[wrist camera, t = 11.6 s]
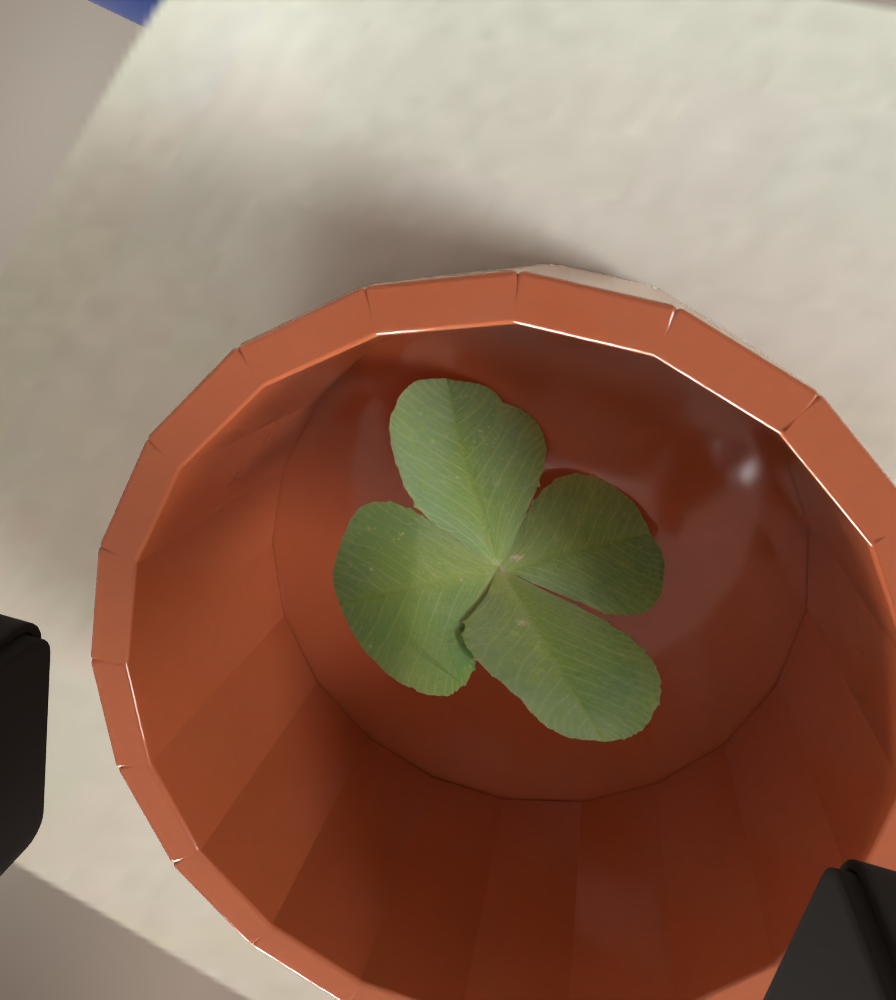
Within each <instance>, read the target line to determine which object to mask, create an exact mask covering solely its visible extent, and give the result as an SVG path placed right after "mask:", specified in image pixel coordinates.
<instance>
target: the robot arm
mask: <svg viewBox="0 0 896 1000" xmlns="http://www.w3.org/2000/svg"><path fill="white" fill-rule="evenodd" d="M49 670H50V646H49V644H48V642H47V641H45V640H44V639H41V632H40V630H39V628H38V627H37V626H36V625H34V624H33V623H29V622H26V621H22V620H19V619H15V618H12V617H8V616H5V615H1V614H0V876H1V875H2V874H3V873H4V871H5V870H6V869H7V868H8V867H9V866H10V865H11V864H12V863H13V862H14V861H15V860H16V859H17V858H18V857H19V855H20V854H21V853H22V852H23V851H24V850H25V849H26V848H27V847H28V846H29V844H30V843H31V842H32V840H33V839H34V837H35V835H36V834H37V832H38V829H39V827H40V825H41V822H42V818H43V811H44V787H45V764H46V740H47V717H48V693H49ZM763 1000H896V871H893V870H890V869H887V868H883V867H880V866H876V865H873V864H869V863H866V862H862V861H859V860H855V859H848V860H847V861H846V862H844V863H843V864H842V866H841V867H840V869H837V868H834V867H829V868H827V869H826V870H825V871H824V873H823V874H822V876H821V878H820V880H819V882H818V884H817V886H816V888H815V891H814V893H813V895H812V897H811V899H810V901H809V903H808V905H807V907H806V910H805V912H804V914H803V916H802V918H801V920H800V922H799V924H798V927H797V929H796V931H795V933H794V935H793V937H792V939H791V941H790V944H789V946H788V948H787V950H786V952H785V954H784V956H783V958H782V960H781V963H780V965H779V967H778V969H777V971H776V973H775V975H774V977H773V980H772V982H771V984H770V986H769V988H768V990H767V992H766V994H765V997H764V999H763Z"/></svg>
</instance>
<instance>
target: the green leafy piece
mask: <svg viewBox="0 0 896 1000" xmlns="http://www.w3.org/2000/svg"><path fill="white" fill-rule="evenodd" d="M389 424H390V427H389V432H390V437H391V442H390V444H391V448H392V451H393V454H394V459H395V464H396V466H397V467H398V468H399V472H400V476H401V478H402V480H403V487H404V488H405V489H406V491H407V492H408V493H409V495H410V497H411V498H412V499H413V501H414V507H415V508H417V509H418V510H420V511H421V512H422V513H423V514H424V515H425V516H426V517H427V518H428V520H427V519H426V518H425V517H424V516H423V515H420V514H417V513H416V512H415V511H414V510H412V509H411V508H405V507H403V506H400V505H398V504H396V503H394V502H392V501H388V502H372V503H369V504H367V505H364V506H361V508H358V511H357V512H356V513H355V514H354V515H353V517H352V518H351V519H350V522H349V524H348V526H347V527H346V528H347V530H346V531H345V532H344V535H343V536H342V540H341V542H340V544H341V545H340V546H339V550H338V554H337V556H336V560H335V561H336V565H335V566H334V569H333V579H334V580H333V584H334V586H335V592H336V597H337V598H338V600H339V606H340V608H341V610H342V612H343V613H344V616H345V619H346V620H347V623H348V624H349V627H350V630H351V631H352V632H353V635H354V636H355V638H356V640H357V641H358V642H359V644H360V645H361V647H362V649H363V650H364V651H365V652H366V653H367V655H368V656H370V657H371V658H372V659H373V660H374V661H376V663H377V664H378V665H379V666H380V667H381V668H382V669H383V671H384V672H385V673H387V674H388V675H389V676H391V677H393V678H394V679H395V680H396V681H397V682H400V683H401V684H402V685H406V686H407V687H409V688H410V687H412V688H414V689H416V692H420V693H424V694H426V695H435V696H449V695H451V694H454V691H455V692H457V691H458V689H459V688H460V687H462V686H463V685H464V686H466V684H467V681H468V680H469V677H470V674H471V673H472V671H475V670H476V669H475V663H476V661H478V662H479V663H480V664H481V665H483V667H484V668H485V669H486V670H487V671H488V673H490V674H491V676H492V677H495V678H497V679H498V680H499V681H501V682H502V683H503V684H504V685H505V686H506V687H507V688H508V689H509V690H510V692H512V693H513V694H514V695H516V696H518V697H519V698H521V700H522V701H523V703H524V704H525V705H526V707H527V709H528V710H529V711H530V712H531V713H533V714H534V716H536V717H537V718H538V720H539V722H541V723H542V724H544V725H545V726H546V727H547V728H549V729H552V730H554V731H555V732H557V733H559V734H561V735H563V736H566V737H568V738H571V739H572V738H577V739H581V740H594V741H595V740H597V741H602V742H603V741H604V742H607V741H614V740H619V739H622V740H625V738H628V737H632V736H633V734H637V732H639V731H642V730H643V729H644V727H645V724H648V723H649V720H651V717H652V715H653V714H652V713H653V711H654V710H655V709H656V707H657V706H658V705H660V702H659V700H660V694H661V692H662V691H661V688H660V684H661V679H660V674H659V673H658V671H657V669H656V667H657V665H655V664H654V662H653V661H652V659H651V658H650V657H649V656H648V655H647V654H646V650H644V649H643V648H641V647H640V646H639V645H638V644H636V643H635V642H634V641H633V640H632V636H630V635H629V634H626V633H624V632H623V631H620V630H618V629H616V628H615V627H613V626H611V625H610V622H609V621H608V620H605V619H602V618H600V617H598V616H596V615H594V614H591V613H589V612H587V611H585V610H583V609H582V608H580V607H578V606H577V605H576V604H573V603H571V602H569V601H566V600H564V599H562V598H559V597H558V596H555V595H553V594H552V593H549V592H547V591H545V590H543V589H541V588H539V587H538V586H541V587H543V588H546V589H548V590H550V591H553V592H555V593H558V594H560V595H563V596H566V597H567V598H571V599H572V600H574V601H580V602H582V603H584V604H586V605H587V606H589V607H591V608H594V609H595V610H598V611H601V612H603V613H604V614H615V615H620V616H621V615H623V616H624V615H625V616H630V615H632V614H643V612H645V611H648V610H651V609H652V607H653V606H654V604H655V603H656V602H657V600H658V599H659V597H660V596H661V592H662V586H663V583H664V582H663V581H664V579H663V577H664V571H665V569H664V568H665V566H664V564H665V563H664V562H665V561H664V559H663V555H662V552H661V549H660V547H659V545H658V544H657V542H656V541H655V539H654V538H653V536H652V534H651V533H650V532H649V528H648V525H647V523H646V522H645V520H644V519H643V517H642V514H641V512H640V511H639V509H638V508H637V507H636V505H635V504H634V503H633V501H632V500H631V499H629V498H628V496H626V495H624V493H622V492H621V491H620V490H618V489H616V487H614V486H613V485H611V484H609V483H608V482H606V481H604V480H600V479H598V478H597V477H595V476H592V475H588V476H586V475H584V474H579V473H573V474H572V475H571V474H569V475H566V476H563V477H558V478H556V479H554V481H553V482H552V483H551V485H548V486H547V487H546V488H544V489H543V490H542V491H541V493H540V494H539V496H538V497H537V498H536V499H533V501H532V502H531V500H532V498H533V496H534V494H535V492H536V491H537V490H536V489H537V487H540V483H539V479H540V477H541V474H542V472H543V470H544V465H545V457H546V456H545V455H546V453H547V447H546V444H545V440H544V439H545V438H544V434H543V432H542V430H541V428H540V426H539V425H538V423H537V422H536V420H535V419H534V418H533V417H532V416H531V415H530V414H529V413H525V412H524V411H523V410H522V409H521V408H517V407H515V406H513V405H510V404H506V403H502V401H501V399H500V398H499V396H498V395H497V394H496V393H495V392H494V391H493V390H491V389H489V388H488V387H485V386H482V385H481V384H478V383H476V384H475V383H472V382H463V381H454V380H451V379H447V378H440V379H436V378H435V379H426V380H418V381H416V382H413V384H411V385H409V386H408V388H407V389H405V390H404V392H402V394H401V395H400V397H398V400H397V405H396V406H395V409H394V411H393V412H392V413H391V416H390V423H389ZM530 503H531V506H530ZM529 507H530V508H529ZM528 508H529V511H528V513H527V510H528ZM441 529H442V530H443V531H442V530H441ZM444 531H445V532H444ZM448 534H449V535H448ZM451 536H452V537H451ZM454 538H455V539H456V540H455V539H454ZM457 540H458V541H459V542H458V541H457ZM461 543H462V544H463V545H462V544H461ZM464 545H465V546H464ZM534 584H536V585H538V586H536V585H534Z"/></svg>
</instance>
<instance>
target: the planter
mask: <svg viewBox="0 0 896 1000" xmlns="http://www.w3.org/2000/svg"><path fill="white" fill-rule="evenodd" d="M435 378H436V379H440V378H447V379H451V380H454V381H463V382H472V383H475V384H476V383H478V384H481V385H482V386H485V387H488V388H489V389H491V390H493V391H494V392H495V393H496V394H497V395H498V396H499V398H500V399H501V401H502V403H506V404H510V405H513V406H515V407H517V408H521V409H522V410H523V411H524V412H525V413H529V414H530V415H531V416H532V417H533V418H534V419H535V420H536V422H537V423H538V425H539V426H540V428H541V430H542V432H543V434H544V438H545V439H544V440H545V444H546V447H547V453H546V455H545V456H546V457H545V465H544V470H543V472H542V474H541V477H540V479H539V483H540V487H537V489H536V490H537V491H536V492H535V494H534V496H533V498H532V500H531V502H532V501H533V499H536V498H537V497H538V496H539V494H540V493H541V491H542V490H543V489H544V488H546V487H547V486H548V485H551V483H552V482H553V481H554V479H556V478H558V477H563V476H566V475H569V474H571V475H572V474H573V473H579V474H584V475H586V476H588V475H592V476H595V477H597V478H598V479H600V480H604V481H606V482H608V483H609V484H611V485H613V486H614V487H616V489H618V490H620V491H621V492H622V493H624V495H626V496H628V498H629V499H631V500H632V501H633V503H634V504H635V505H636V507H637V508H638V509H639V511H640V512H641V514H642V517H643V519H644V520H645V522H646V523H647V525H648V528H649V532H650V533H651V534H652V536H653V538H654V539H655V541H656V542H657V544H658V545H659V547H660V549H661V552H662V555H663V559H664V561H665V562H664V563H665V564H664V566H665V568H664V569H665V571H664V577H663V579H664V581H663V582H664V583H663V586H662V592H661V596H660V597H659V599H658V600H657V602H656V603H655V604H654V606H653V607H652V609H651V610H648V611H645V612H643V614H632V615H630V616H625V615H624V616H623V615H621V616H620V615H615V614H604V613H603V612H601V611H598V610H595V609H594V608H591V607H589V606H587V605H586V604H584V603H582V602H580V601H574V600H572V599H571V598H567V597H566V596H563V595H560V594H558V593H555V592H553V591H550V590H548V589H546V588H543V587H541V586H538V585H536V584H534V585H536V586H538V587H539V588H541V589H543V590H545V591H547V592H549V593H552V594H553V595H555V596H558V597H559V598H562V599H564V600H566V601H569V602H571V603H573V604H576V605H577V606H578V607H580V608H582V609H583V610H585V611H587V612H589V613H591V614H594V615H596V616H598V617H600V618H602V619H605V620H608V621H609V622H610V625H611V626H613V627H615V628H616V629H618V630H620V631H623V632H624V633H626V634H629V635H630V636H632V640H633V641H634V642H635V643H636V644H638V645H639V646H640V647H641V648H643V649H644V650H646V654H647V655H648V656H649V657H650V658H651V659H652V661H653V662H654V664H655V665H657V667H656V669H657V671H658V673H659V674H660V679H661V684H660V688H661V691H662V692H661V694H660V700H659V702H660V705H658V706H657V707H656V709H655V710H654V711H653V713H652V714H653V715H652V717H651V720H649V723H648V724H645V727H644V729H643V730H642V731H639V732H637V734H633V736H632V737H628V738H625V740H622V739H619V740H614V741H607V742H604V741H603V742H602V741H597V740H595V741H594V740H581V739H577V738H572V739H571V738H568V737H566V736H563V735H561V734H559V733H557V732H555V731H554V730H552V729H549V728H547V727H546V726H545V725H544V724H542V723H541V722H539V720H538V718H537V717H536V716H534V714H533V713H531V712H530V711H529V710H528V709H527V707H526V705H525V704H524V703H523V701H522V700H521V698H519V697H518V696H516V695H514V694H513V693H512V692H510V690H509V689H508V688H507V687H506V686H505V685H504V684H503V683H502V682H501V681H499V680H498V679H497V678H495V677H492V676H491V674H490V673H488V671H487V670H486V669H485V668H484V667H483V665H481V664H480V663H479V662H478V661H476V663H475V669H476V670H475V671H472V673H471V674H470V677H469V680H468V681H467V684H466V686H464V685H463V686H462V687H460V688H459V689H458V691H457V692H455V691H454V694H451V695H449V696H435V695H426V694H424V693H420V692H416V689H414V688H412V687H410V688H409V687H407V686H406V685H402V684H401V683H400V682H397V681H396V680H395V679H394V678H393V677H391V676H389V675H388V674H387V673H385V672H384V671H383V669H382V668H381V667H380V666H379V665H378V664H377V663H376V661H374V660H373V659H372V658H371V657H370V656H368V655H367V653H366V652H365V651H364V650H363V649H362V647H361V645H360V644H359V642H358V641H357V640H356V638H355V636H354V635H353V632H352V631H351V630H350V627H349V624H348V623H347V620H346V619H345V616H344V613H343V612H342V610H341V608H340V606H339V600H338V598H337V597H336V592H335V586H334V584H333V580H334V579H333V569H334V566H335V565H336V561H335V560H336V556H337V554H338V550H339V546H340V545H341V544H340V542H341V540H342V536H343V535H344V532H345V531H346V530H347V528H346V527H347V526H348V524H349V522H350V519H351V518H352V517H353V515H354V514H355V513H356V512H357V511H358V508H361V506H364V505H367V504H369V503H372V502H388V501H392V502H394V503H396V504H398V505H400V506H403V507H405V508H411V509H412V510H414V511H415V512H416V513H417V514H420V515H423V516H424V517H425V518H426V519H427V520H428V518H427V517H426V516H425V515H424V514H423V513H422V512H421V511H420V510H418V509H417V508H415V507H414V501H413V499H412V498H411V497H410V495H409V493H408V492H407V491H406V489H405V488H404V487H403V480H402V478H401V476H400V472H399V468H398V467H397V466H396V464H395V459H394V454H393V451H392V448H391V444H390V442H391V437H390V432H389V427H390V424H389V423H390V416H391V413H392V412H393V411H394V409H395V406H396V405H397V400H398V397H400V395H401V394H402V392H404V390H405V389H407V388H408V386H409V385H411V384H413V382H416V381H418V380H426V379H435ZM530 506H531V503H530ZM529 508H530V507H529ZM529 508H528V510H527V513H528V511H529ZM441 530H442V529H441ZM442 531H443V530H442ZM444 532H445V531H444ZM448 535H449V534H448ZM451 537H452V536H451ZM454 539H455V538H454ZM455 540H456V539H455ZM457 541H458V540H457ZM458 542H459V541H458ZM461 544H462V543H461ZM462 545H463V544H462ZM464 546H465V545H464ZM91 657H92V658H93V659H92V667H93V671H94V675H95V679H96V683H97V687H98V691H99V696H100V700H101V704H102V708H103V712H104V716H105V720H106V724H107V728H108V732H109V736H110V741H111V745H112V749H113V753H114V757H115V761H116V765H117V766H119V767H120V768H119V769H120V772H121V774H122V776H123V778H124V779H125V781H126V783H127V785H128V786H129V788H130V790H131V792H132V793H133V795H134V797H135V799H136V800H137V802H138V804H139V806H140V807H141V809H142V811H143V813H144V814H145V816H146V818H147V820H148V821H149V823H150V825H151V827H152V828H153V830H154V832H155V834H156V835H157V837H158V839H159V841H160V842H161V844H162V846H163V848H164V849H165V851H166V853H167V855H168V856H169V858H170V860H171V861H172V862H175V863H174V866H175V867H176V868H177V869H178V870H179V871H180V872H181V874H182V875H183V876H184V877H185V878H186V879H187V880H188V881H189V882H190V883H191V884H192V885H193V886H194V887H195V888H196V889H197V890H198V891H199V892H200V893H201V894H202V895H203V896H204V897H205V898H206V899H207V900H208V901H209V902H210V903H211V904H212V905H213V906H214V907H215V908H216V910H217V911H218V912H219V913H220V914H221V915H222V916H223V917H224V918H225V919H226V920H227V921H228V922H229V923H230V924H231V925H232V926H233V927H234V928H235V929H236V930H237V931H238V932H239V933H240V934H241V935H242V936H243V937H244V938H245V939H246V940H247V941H248V942H249V943H250V944H252V943H254V946H255V947H256V948H257V949H259V950H260V951H262V952H264V953H265V954H267V955H268V956H270V957H271V958H273V959H275V960H276V961H278V962H279V963H281V964H283V965H284V966H286V967H287V968H289V969H290V970H292V971H294V972H295V973H297V974H298V975H300V976H301V977H303V978H305V979H306V980H308V981H309V982H311V983H313V984H314V985H316V986H317V987H319V988H320V989H322V990H324V991H325V992H327V993H328V994H330V995H331V996H333V997H335V998H336V999H338V1000H763V999H764V997H765V994H766V992H767V990H768V988H769V986H770V984H771V982H772V980H773V977H774V975H775V973H776V971H777V969H778V967H779V965H780V963H781V960H782V958H783V956H784V954H785V952H786V950H787V948H788V946H789V944H790V941H791V939H792V937H793V935H794V933H795V931H796V929H797V927H798V924H799V922H800V920H801V918H802V916H803V914H804V912H805V910H806V907H807V905H808V903H809V901H810V899H811V897H812V895H813V893H814V891H815V888H816V886H817V884H818V882H819V880H820V878H821V876H822V874H823V873H824V871H825V870H826V869H827V868H829V867H834V868H837V869H840V867H841V866H842V864H843V863H844V862H846V861H847V860H848V859H855V860H859V861H862V862H866V863H869V864H873V865H876V866H880V867H883V868H887V869H890V870H893V871H896V487H895V485H894V484H893V483H892V482H891V480H890V479H889V478H888V477H887V475H886V474H885V473H884V472H883V470H882V469H881V468H880V467H879V465H878V464H877V463H876V462H875V461H874V459H873V458H872V457H871V456H870V454H869V453H868V452H867V451H866V449H865V448H864V447H863V446H862V444H861V443H860V442H859V441H858V439H857V438H856V437H855V436H854V434H853V433H852V432H851V431H850V429H849V428H848V427H847V426H846V424H845V423H844V422H843V421H842V419H841V418H840V417H839V416H838V414H837V413H836V412H835V411H834V409H833V408H832V407H831V406H830V404H829V403H828V402H827V401H826V399H825V398H824V397H823V396H821V395H820V394H818V393H817V391H816V390H815V389H813V388H812V387H810V386H809V385H807V384H806V383H804V382H803V381H801V380H800V379H799V378H797V377H796V376H794V375H793V374H791V373H790V372H788V371H787V370H786V369H784V368H783V367H781V366H780V365H778V364H777V363H775V362H774V361H772V360H771V359H770V358H768V357H767V356H765V355H764V354H762V353H761V352H759V351H758V350H756V349H755V348H754V347H752V346H751V345H749V344H748V343H746V342H745V341H743V340H742V339H740V338H738V337H737V336H735V335H734V334H732V333H730V332H729V331H727V330H725V329H724V328H722V327H721V326H719V325H717V324H716V323H714V322H712V321H711V320H709V319H708V318H706V317H704V316H703V315H701V314H699V313H698V312H696V311H695V310H693V309H691V308H690V307H688V306H686V305H685V304H683V303H682V302H680V301H678V300H677V299H675V298H674V297H672V296H670V295H669V294H667V293H665V292H664V291H662V290H661V289H658V288H656V289H655V288H654V287H653V286H650V285H646V284H641V283H637V282H633V281H628V280H624V279H619V278H616V277H613V276H609V275H606V274H602V273H595V272H589V271H584V270H580V269H575V268H571V267H566V266H562V265H558V264H554V265H550V264H539V265H530V266H520V267H511V268H501V269H491V270H482V271H472V272H462V273H453V274H445V275H438V276H431V277H423V278H416V279H408V280H401V281H393V282H386V283H378V284H371V285H369V286H367V287H361V288H357V289H355V290H353V291H351V292H349V293H347V294H345V295H343V296H341V297H338V298H336V299H334V300H332V301H330V302H328V303H326V304H324V305H322V306H320V307H317V308H315V309H313V310H311V311H309V312H307V313H305V314H303V315H301V316H298V317H296V318H294V319H292V320H290V321H288V322H286V323H284V324H282V325H279V326H277V327H275V328H273V329H271V330H269V331H267V332H265V333H263V334H261V335H258V336H256V337H254V338H252V339H250V340H248V341H246V342H244V343H242V344H241V345H240V346H239V347H238V348H235V349H233V350H232V351H231V352H230V353H229V354H228V355H227V356H226V357H225V358H224V359H223V360H222V361H221V362H220V363H219V364H218V365H217V366H216V367H215V368H214V369H213V370H212V371H211V372H210V373H209V374H208V375H207V377H206V378H205V379H204V380H203V381H202V382H201V383H200V384H199V385H198V386H197V387H196V388H195V389H194V390H193V391H192V392H191V393H190V394H189V395H188V396H187V397H186V398H185V399H184V400H183V401H182V402H181V403H180V404H179V405H178V406H177V407H176V408H175V409H174V410H173V411H172V412H171V413H170V414H169V415H168V416H167V418H166V419H165V420H164V421H163V422H162V423H161V424H160V425H159V426H158V427H157V428H156V429H155V430H154V431H153V432H152V433H151V434H150V435H149V438H148V440H147V441H146V442H145V445H144V447H143V449H142V451H141V454H140V456H139V458H138V460H137V463H136V465H135V467H134V470H133V472H132V474H131V476H130V479H129V481H128V483H127V485H126V488H125V490H124V492H123V495H122V497H121V499H120V501H119V504H118V506H117V508H116V510H115V513H114V515H113V517H112V519H111V522H110V524H109V526H108V529H107V531H106V533H105V535H104V538H103V540H102V542H101V547H100V549H99V554H98V568H97V582H96V596H95V609H94V623H93V637H92V650H91Z"/></svg>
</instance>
